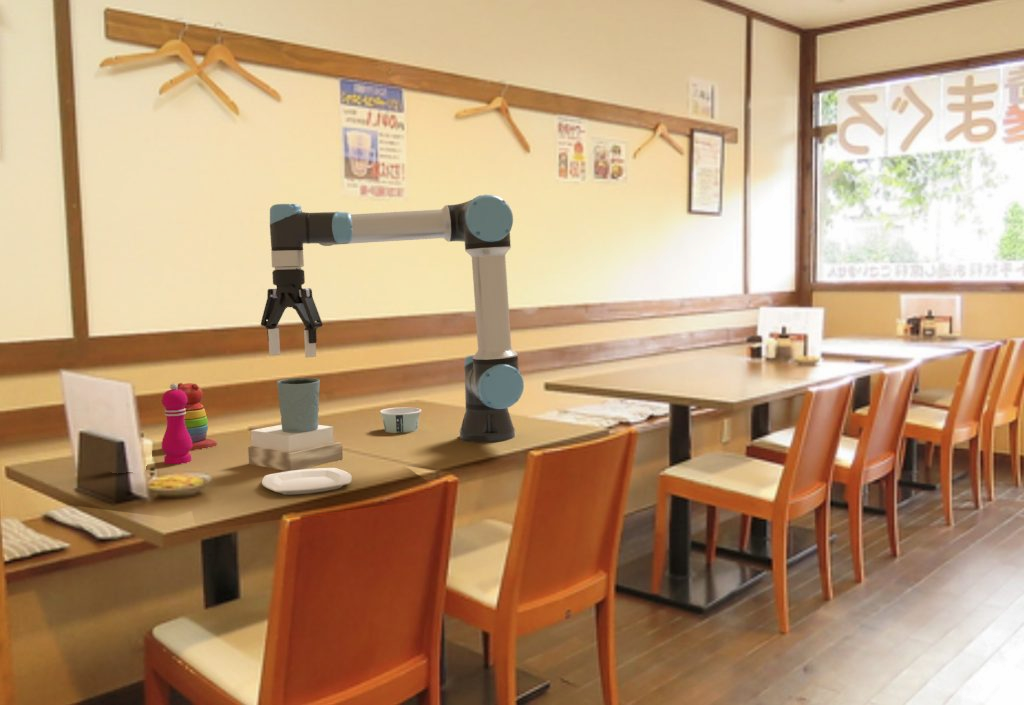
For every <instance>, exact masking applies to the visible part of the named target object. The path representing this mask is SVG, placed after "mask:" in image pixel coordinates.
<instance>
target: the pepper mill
mask: <svg viewBox="0 0 1024 705" xmlns="http://www.w3.org/2000/svg"><path fill="white" fill-rule="evenodd" d="M177 385H178V384H177V383H175V382H173V383H171V384H170V385H169V388H170V389H169V390H166V391H165V392H164V393H163V394H162V397H161V404H162V406H163V407H164V408H165V409H164V416H166V428H165V432H164V435H163V437H162V439H161V450H162V451H163V453H165V456H164V464H165V465H167V464H178V465H182V464H181V463H185V464H188V463H187V462H189V463H191V462H192V454H191V453H190V452H191V451H192V450H191V448H192V440H191V437H190V435H189V433H188V431H187V429H186V426H185V421H184V414H186V412H185V410H186V409H185V408H184V407H185V405H186V404H187V395H186V394H185V392H183V391H182V390H178V389H177V388H178V386H177ZM190 450H191V451H190ZM190 461H191V462H190Z"/></svg>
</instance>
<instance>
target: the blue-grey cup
mask: <svg viewBox="0 0 1024 705" xmlns="http://www.w3.org/2000/svg"><path fill="white" fill-rule="evenodd" d="M320 384H321V381H320V379H318V378H313V377H312V378H311V377H298V378H297V377H296V378H286V379H280V380H277V381H276V385H277V386H276V388H277V392H278V402H279V406H278V407H279V412H280V422H281V423H280V425H282V430H283V431H284V432H288V433H301V432H309V431H313V430H316V429H317V428H318V425H319V413H320V411H319V410H320V409H319V406H320V403H319V402H320V386H321V385H320Z"/></svg>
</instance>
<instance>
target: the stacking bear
mask: <svg viewBox="0 0 1024 705" xmlns="http://www.w3.org/2000/svg"><path fill="white" fill-rule="evenodd" d="M177 386H178V388H177V389H178V390H182V391H183V392H185V394H186V395H187V404H186V405H185V407H184V408H185V409H186V410H185V412H186V414H184V421H185V426H186V429H187V431H188V433H189V435H190V437H191V440H192V448H191V451H196V450H195V449H200V450H203V449H202V448H206V449H209V448H208V447H210V448H214V447H217V446H218V442H217V440H215V439H212V438H207V434H208V433H207V432H208V428H209V424H208V423H209V420H208V416H207V413H206V409H205V408H204V405H203V404H202V403H201V400H202V399H203V396H204V392H203V391H202V388H200V386H199V385H198V384H197V383H182V382H180V383H178V384H177ZM216 445H217V446H216ZM213 446H214V447H213Z"/></svg>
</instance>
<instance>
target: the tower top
mask: <svg viewBox="0 0 1024 705" xmlns="http://www.w3.org/2000/svg"><path fill="white" fill-rule="evenodd" d="M250 435H251V436H250V437H251V446H252V447H258V448H264V449H270V450H277V451H283V452H294V451H298V450H303V449H307V448H312V447H316V446H321V445H325V444H330V443H334V442H335V441H334V440H335V438H334V437H335V436H334V426H330V425H323V424H318V428H317V429H316V430H313V431H309V432H301V433H288V432H284V431H283V430H282V424H277V425H272V426H267V427H262V428H257V429H256V428H255V429H251V430H250Z"/></svg>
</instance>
